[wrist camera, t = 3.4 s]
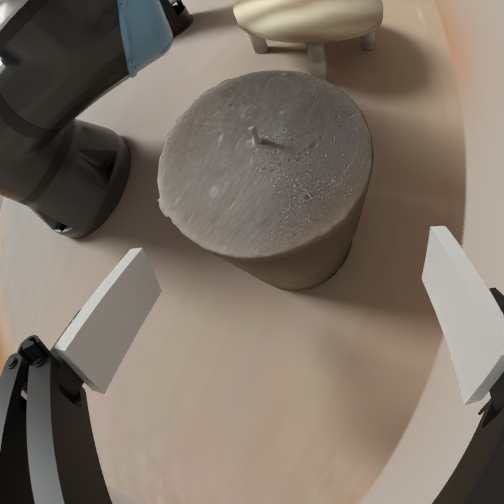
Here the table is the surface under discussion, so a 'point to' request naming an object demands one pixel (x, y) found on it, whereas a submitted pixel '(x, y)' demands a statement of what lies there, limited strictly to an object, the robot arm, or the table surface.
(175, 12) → the french press
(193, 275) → the table surface
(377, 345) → the table surface
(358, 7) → the beige round legged stand
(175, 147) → the pillar candle
